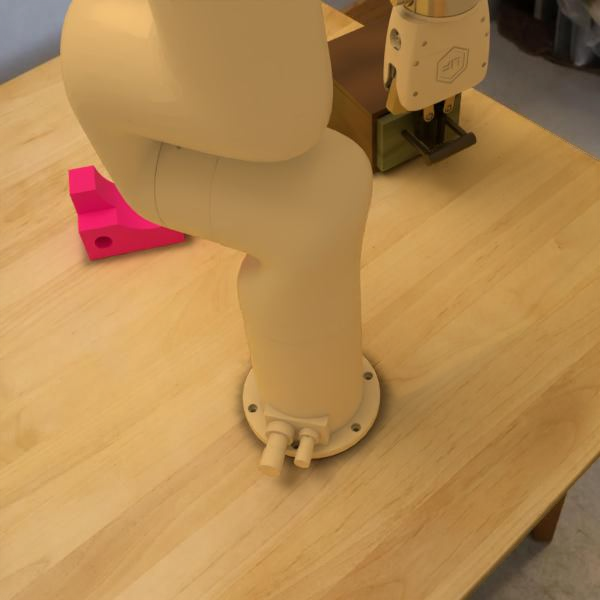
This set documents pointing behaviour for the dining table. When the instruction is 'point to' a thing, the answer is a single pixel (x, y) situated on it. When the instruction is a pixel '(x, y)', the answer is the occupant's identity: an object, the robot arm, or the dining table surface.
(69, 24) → the robot arm
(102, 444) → the dining table surface
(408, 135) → the drawer
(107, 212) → the toy block
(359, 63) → the cabinet
